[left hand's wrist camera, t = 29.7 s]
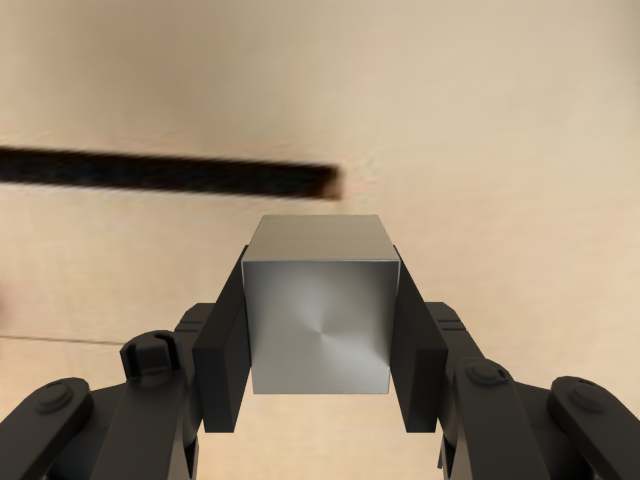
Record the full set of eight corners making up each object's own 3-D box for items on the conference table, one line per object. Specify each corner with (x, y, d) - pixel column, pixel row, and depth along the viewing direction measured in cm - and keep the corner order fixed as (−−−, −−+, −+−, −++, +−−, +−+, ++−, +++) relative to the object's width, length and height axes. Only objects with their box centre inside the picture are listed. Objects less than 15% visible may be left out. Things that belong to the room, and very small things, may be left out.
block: (269, 320, 16) (252, 394, 12) (263, 214, 14) (240, 259, 10) (371, 320, 16) (388, 394, 12) (377, 214, 14) (401, 259, 10)
